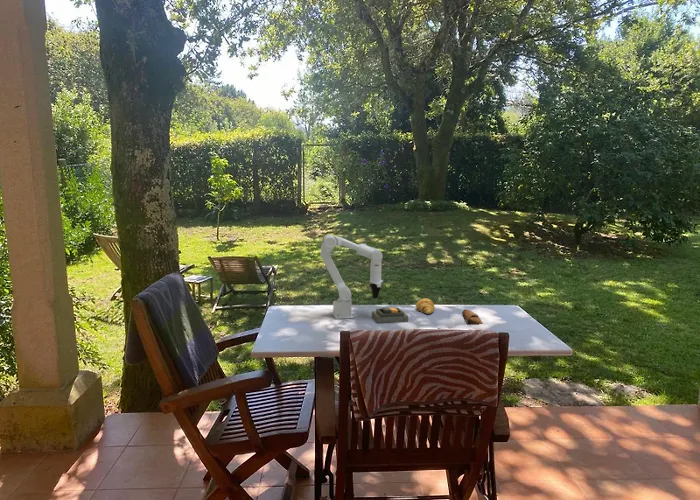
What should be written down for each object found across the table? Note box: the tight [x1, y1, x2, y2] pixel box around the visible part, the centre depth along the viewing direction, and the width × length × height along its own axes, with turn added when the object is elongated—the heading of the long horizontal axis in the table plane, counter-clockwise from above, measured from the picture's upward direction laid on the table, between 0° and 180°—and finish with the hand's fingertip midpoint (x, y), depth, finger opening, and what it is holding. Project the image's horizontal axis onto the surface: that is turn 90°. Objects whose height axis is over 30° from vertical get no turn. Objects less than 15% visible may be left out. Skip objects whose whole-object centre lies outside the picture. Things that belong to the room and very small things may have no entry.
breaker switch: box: [381, 306, 398, 313], centre depth 272 cm, size 7×5×2 cm
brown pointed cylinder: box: [461, 308, 484, 326], centre depth 274 cm, size 18×7×7 cm
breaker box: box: [371, 307, 409, 324], centre depth 273 cm, size 16×12×4 cm
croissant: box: [415, 297, 436, 315], centre depth 291 cm, size 21×10×8 cm, turn 4°
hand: (375, 297), depth 277 cm, fingers closed
